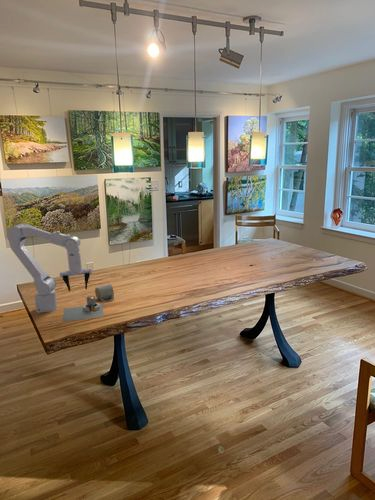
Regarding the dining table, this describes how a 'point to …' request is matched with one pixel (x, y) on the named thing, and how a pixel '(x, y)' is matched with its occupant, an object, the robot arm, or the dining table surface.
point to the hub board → (82, 313)
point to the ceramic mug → (104, 292)
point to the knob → (91, 302)
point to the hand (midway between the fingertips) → (77, 289)
